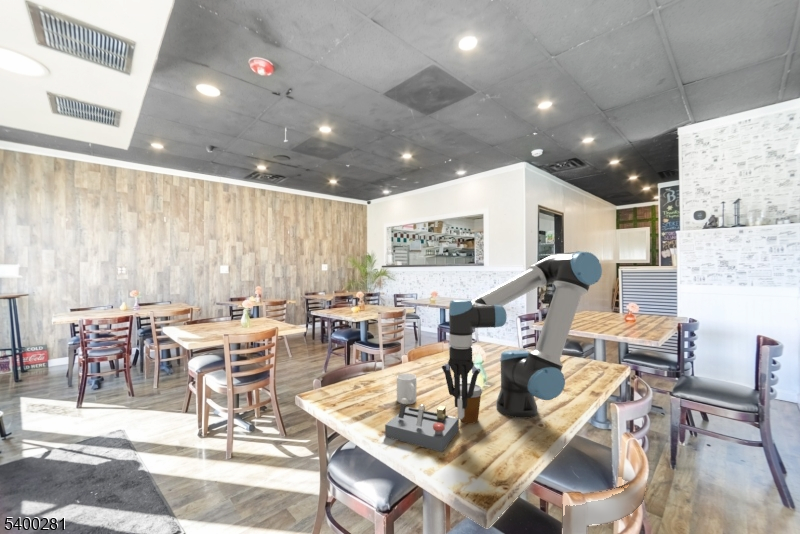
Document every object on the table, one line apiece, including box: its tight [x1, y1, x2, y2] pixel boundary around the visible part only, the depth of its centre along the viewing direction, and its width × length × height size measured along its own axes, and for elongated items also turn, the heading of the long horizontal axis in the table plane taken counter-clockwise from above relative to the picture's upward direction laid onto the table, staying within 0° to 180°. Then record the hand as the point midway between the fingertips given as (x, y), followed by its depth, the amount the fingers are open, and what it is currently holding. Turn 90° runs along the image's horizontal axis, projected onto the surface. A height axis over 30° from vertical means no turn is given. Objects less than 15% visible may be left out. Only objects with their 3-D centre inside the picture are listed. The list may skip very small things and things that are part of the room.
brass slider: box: [436, 405, 447, 420], centre depth 114 cm, size 2×3×4 cm, turn 152°
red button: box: [433, 423, 445, 436], centre depth 104 cm, size 4×4×3 cm
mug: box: [396, 373, 417, 406], centre depth 139 cm, size 12×8×10 cm
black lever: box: [398, 398, 408, 419], centre depth 115 cm, size 2×2×6 cm
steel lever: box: [416, 404, 426, 427], centre depth 109 cm, size 2×2×6 cm
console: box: [384, 406, 460, 453], centre depth 113 cm, size 20×16×5 cm
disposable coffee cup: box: [460, 382, 483, 425], centre depth 122 cm, size 10×10×12 cm
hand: (461, 417), depth 111 cm, fingers closed
